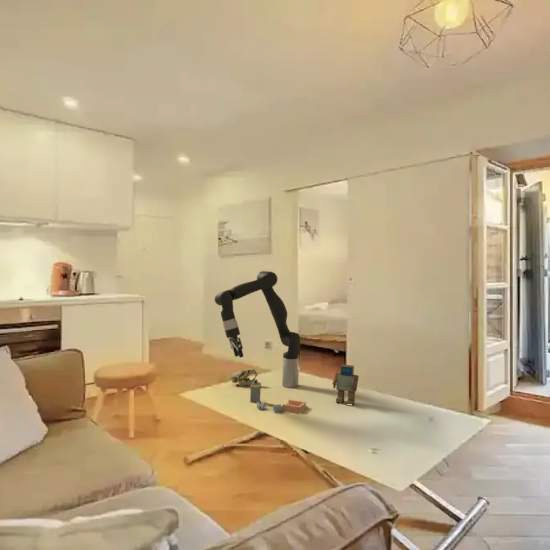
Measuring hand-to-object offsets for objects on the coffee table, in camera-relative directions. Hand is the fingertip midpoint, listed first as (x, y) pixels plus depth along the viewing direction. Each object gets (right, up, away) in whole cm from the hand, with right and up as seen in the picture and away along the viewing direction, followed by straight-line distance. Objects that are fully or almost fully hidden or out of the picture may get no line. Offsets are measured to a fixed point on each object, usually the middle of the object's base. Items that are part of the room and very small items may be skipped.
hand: (239, 356), depth 230 cm
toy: (+57, -25, 0) cm, 63 cm away
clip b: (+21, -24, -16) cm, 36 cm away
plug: (+9, -24, -1) cm, 25 cm away
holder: (+29, -25, -12) cm, 40 cm away
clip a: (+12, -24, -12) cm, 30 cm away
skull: (0, -24, +31) cm, 39 cm away
